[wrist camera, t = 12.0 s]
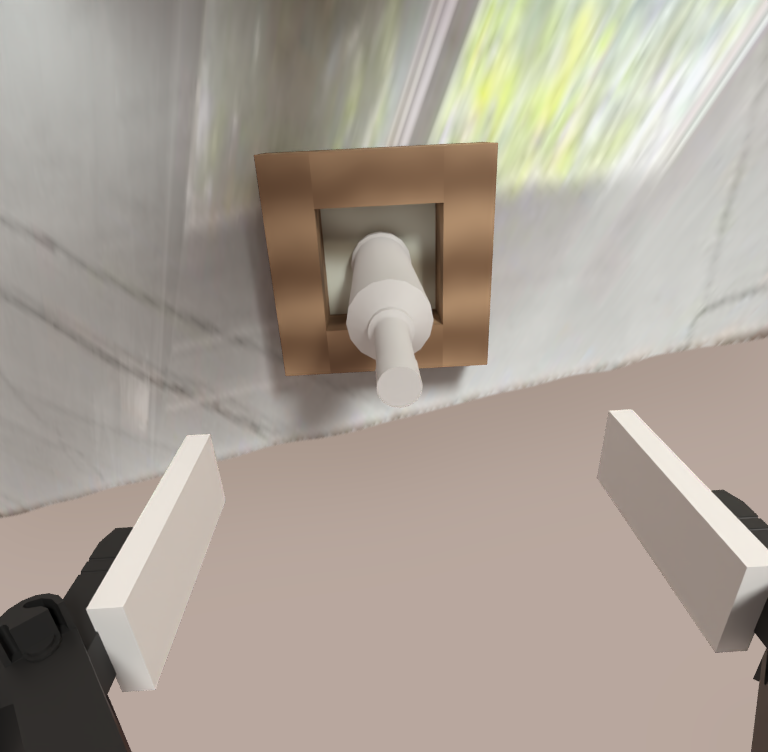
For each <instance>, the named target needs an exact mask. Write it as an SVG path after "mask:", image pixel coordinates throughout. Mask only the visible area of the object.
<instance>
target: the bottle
mask: <svg viewBox="0 0 768 752" xmlns="http://www.w3.org/2000/svg"><path fill="white" fill-rule="evenodd" d="M351 267H352V270H353V278H352V286H351V293H350V300H349V307H348V314H347V321H346V325H347V329H348V332H349V336H350V339H351V341H352V342H353V343H354V344H355V346H356V347H357V348H358V349H359V350H360V352H362V353H364V354H365V355H367V356H369V357H371V358H373V359H375V360H376V370H375V373H376V389H377V393H378V396H379V398H380V399H381V400H382V401H383V402H384V403H385V404H387V405H389V406H391V407H397V408H402V407H406V406H410V405H411V404H413V403H414V402H416V401H417V399H418V398H419V397H420V395H421V393H422V388H423V385H422V380H421V376H420V372H419V368H418V363H417V360H416V359H415V356H414V353H416V352H417V351H419V350H420V349H421V348H422V347H423V345H424V344H425V342H426V341H427V339H428V338H429V337H430V334H431V329H432V325H433V315H432V310H431V305H430V302H429V300H428V298H427V296H426V294H425V292H424V290H423V287H422V285H421V283H420V281H419V279H418V277H417V275H416V273H415V271H414V268H413V266H412V264H411V258H410V253H409V250H408V248H407V247H406V245H405V244H404V243H403V241H402V240H401V239H400V238H398V237H397V236H395V235H394V234H392V233H389V232H382V231H378V232H374V233H370V234H368V235H366V236H365V237H364V238H362V239H361V240H360V241H359V242H358V244H357V245H356V247H355V249H354V250H353V254H352V261H351Z"/></svg>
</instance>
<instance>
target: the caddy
mask: <svg viewBox="0 0 768 752" xmlns="http://www.w3.org/2000/svg"><path fill="white" fill-rule="evenodd" d="M497 154H498V143H490V142H476V143H456V144H436V145H416V146H396V147H376V148H356V149H336V150H316V151H296V152H276V153H263V154H258V155H254V160H255V167H256V173H257V180H258V187H259V194H260V201H261V208H262V215H263V222H264V229H265V236H266V243H267V250H268V257H269V264H270V271H271V277H272V284H273V291H274V298H275V305H276V312H277V319H278V326H279V333H280V340H281V347H282V354H283V361H284V368H285V375H286V376H296V375H313V374H331V373H348V372H366V371H375V370H376V360H375V359H373V358H371V357H369V356H367V355H365V354H364V353H362V352H360V350H359V349H358V348H357V347H356V346H355V344H354V343H353V342H352V341H351V339H350V336H349V332H348V329H347V325H346V321H347V314H348V307H349V300H350V293H351V286H352V278H353V270H352V267H351V261H352V254H353V250H354V249H355V247H356V245H357V244H358V242H359V241H360V240H361V239H362V238H364V237H365V236H366V235H368V234H370V233H374V232H378V231H382V232H389V233H392V234H394V235H395V236H397V237H398V238H400V239H401V240H402V241H403V243H404V244H405V245H406V247H407V248H408V250H409V253H410V258H411V264H412V266H413V268H414V271H415V273H416V275H417V277H418V279H419V281H420V283H421V285H422V287H423V290H424V292H425V294H426V296H427V298H428V300H429V302H430V305H431V310H432V315H433V325H432V329H431V334H430V337H429V338H428V339H427V341H426V342H425V344H424V345H423V347H422V348H421V349H420V350H419V351H417V352H416V353H414V356H415V359H416V360H417V363H418V368H435V367H453V366H470V365H487V358H488V337H489V317H490V297H491V276H492V256H493V235H494V215H495V194H496V174H497Z"/></svg>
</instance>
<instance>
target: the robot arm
mask: <svg viewBox="0 0 768 752" xmlns="http://www.w3.org/2000/svg"><path fill="white" fill-rule="evenodd" d="M597 479H598V480H599V482H600V483H601V485H602V486H603V488H604V489H605V490H606V492H607V494H608V495H609V497H610V498H611V500H612V501H613V502H614V504H615V505H616V507H617V508H618V510H619V511H620V513H621V514H622V516H623V517H624V518H625V520H626V521H627V523H628V525H629V526H630V527H631V529H632V531H633V532H634V533H635V535H636V536H637V538H638V539H639V541H640V542H641V544H642V545H643V547H644V548H645V550H646V551H647V553H648V554H649V556H650V557H651V559H652V560H653V562H654V563H655V565H656V566H657V567H658V569H659V570H660V572H661V573H662V575H663V576H664V578H665V579H666V581H667V582H668V584H669V585H670V587H671V588H672V590H673V591H674V592H675V594H676V595H677V597H678V598H679V600H680V601H681V603H682V604H683V606H684V607H685V609H686V610H687V612H688V613H689V615H690V616H691V618H692V619H693V621H694V622H695V624H696V625H697V626H698V628H699V629H700V631H701V632H702V634H703V635H704V637H705V638H706V640H707V641H708V643H709V644H710V646H711V647H712V648H713V650H714V652H715V653H719V652H733V651H747V650H748V648H749V645H750V643H751V641H752V638H753V636H754V633H755V634H756V635H757V636H758V637H759V639H760V640H761V641H762V642H763V644H764V645H765V646H766V648H767V649H766V651H765V653H764V655H763V657H762V660H761V662H760V664H759V666H758V669H757V671H756V674H755V676H754V678H753V679H755V680H757V681H759V680H760V683H759V690H758V699H757V707H756V715H755V725H754V733H753V741H752V749H751V752H768V525H767V524H766V523H765V522H764V521H763V520H762V519H759V518H758V515H757V514H756V513H754V512H753V511H752V510H751V509H750V508H749V507H748V506H747V505H746V504H745V503H744V502H743V501H741V500H740V499H738V498H736V497H735V496H733V495H731V494H730V493H728V492H726V491H724V490H713V491H711V490H710V489H709V488H708V487H707V486H706V485H705V484H704V483H703V482H702V481H701V480H700V479H699V478H698V477H697V476H696V475H695V474H694V473H693V472H692V471H691V470H690V469H689V468H688V467H687V466H686V465H685V464H684V463H683V462H682V461H681V460H680V459H679V458H678V457H677V455H676V454H675V453H674V452H673V451H672V450H671V449H670V448H669V447H668V446H667V445H666V444H665V443H664V442H663V441H662V440H661V439H660V438H659V437H658V436H657V435H656V434H655V433H654V432H653V431H652V430H651V429H650V428H649V427H648V426H647V425H646V424H645V423H644V421H643V420H642V419H641V418H639V416H637V414H636V413H635V412H634V411H633V410H632V409H629V410H613V411H609V413H608V418H607V424H606V429H605V435H604V441H603V447H602V452H601V458H600V463H599V469H598V475H597ZM225 501H226V499H225V495H224V491H223V487H222V482H221V478H220V474H219V469H218V465H217V461H216V456H215V452H214V448H213V443H212V439H211V435H210V434H202V435H187V436H186V438H185V439H184V441H183V443H182V444H181V446H180V448H179V450H178V451H177V453H176V455H175V457H174V458H173V460H172V462H171V463H170V465H169V467H168V469H167V470H166V472H165V474H164V476H163V477H162V479H161V481H160V482H159V484H158V486H157V488H156V489H155V491H154V493H153V495H152V496H151V498H150V500H149V501H148V503H147V505H146V507H145V508H144V510H143V512H142V514H141V516H140V517H139V519H138V521H137V522H136V524H135V526H134V527H128V528H115V530H113V531H112V532H111V533H110V534H109V535H107V536H106V537H105V538H104V539H103V540H102V541H101V542H99V544H98V545H97V547H96V549H95V550H94V552H93V553H92V555H91V556H90V558H89V562H87V563H86V564H85V566H84V567H83V569H82V571H81V575H78V577H77V578H76V580H75V582H74V583H73V584H72V586H71V588H70V589H69V591H68V592H67V594H66V595H65V597H64V599H62V598H61V597H60V596H59V595H54V594H49V593H48V594H41V595H35V596H33V597H30V598H28V599H25V600H23V601H21V602H19V603H18V604H16V605H14V606H13V607H11V608H10V609H8V610H7V611H6V612H5V613H4V614H3V615H2V616H1V617H0V752H131V749H130V747H129V745H128V742H127V740H126V737H125V735H124V733H123V730H122V728H121V725H120V723H119V721H118V718H117V716H116V713H115V711H114V709H113V706H112V704H111V701H110V699H109V697H108V695H107V694H108V692H109V690H110V687H111V685H112V683H113V681H114V679H115V676H116V679H117V681H118V683H119V685H120V688H121V690H122V692H128V691H144V690H156V687H157V685H158V682H159V679H160V676H161V674H162V671H163V668H164V666H165V663H166V660H167V658H168V655H169V652H170V650H171V647H172V644H173V641H174V638H175V636H176V633H177V630H178V628H179V625H180V623H181V620H182V617H183V615H184V612H185V609H186V606H187V604H188V601H189V598H190V595H191V593H192V590H193V588H194V585H195V582H196V579H197V577H198V574H199V571H200V569H201V566H202V563H203V560H204V558H205V555H206V553H207V550H208V547H209V544H210V542H211V539H212V536H213V534H214V531H215V528H216V526H217V523H218V520H219V517H220V515H221V512H222V509H223V507H224V504H225Z"/></svg>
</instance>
